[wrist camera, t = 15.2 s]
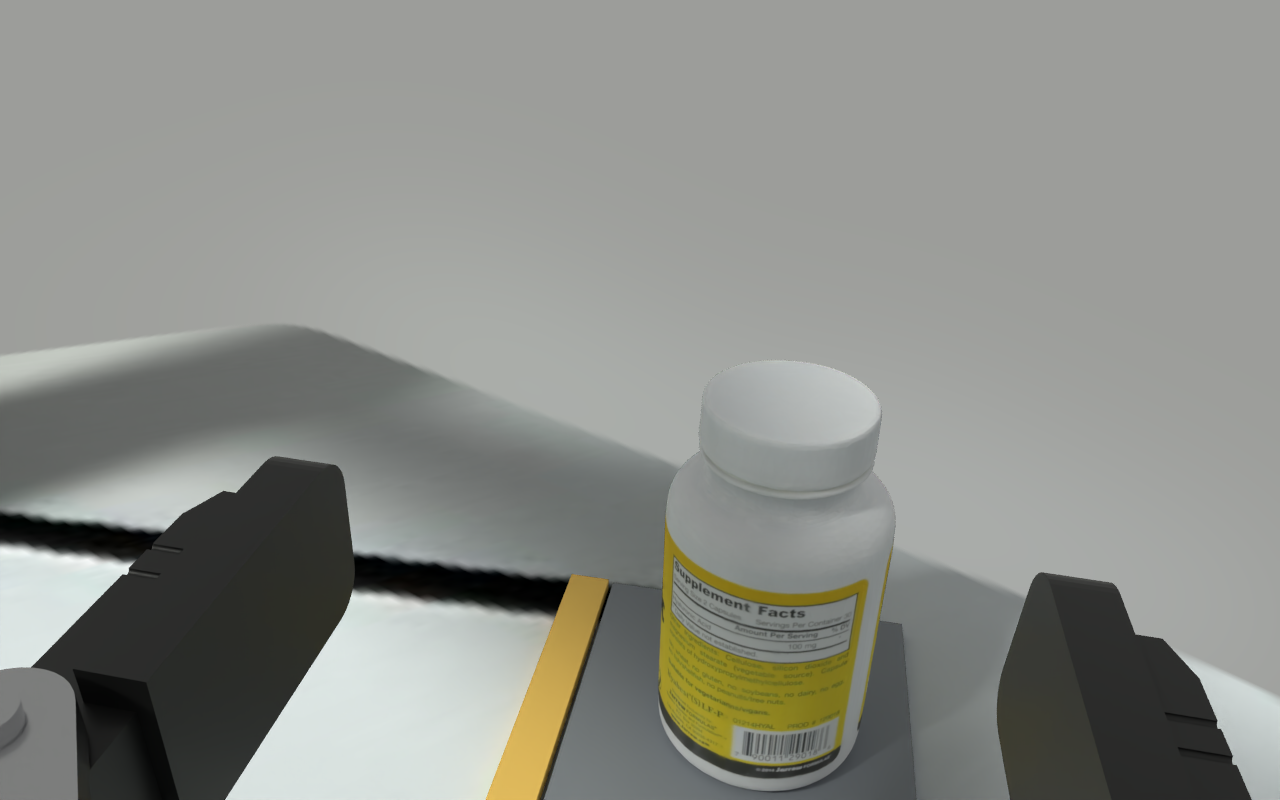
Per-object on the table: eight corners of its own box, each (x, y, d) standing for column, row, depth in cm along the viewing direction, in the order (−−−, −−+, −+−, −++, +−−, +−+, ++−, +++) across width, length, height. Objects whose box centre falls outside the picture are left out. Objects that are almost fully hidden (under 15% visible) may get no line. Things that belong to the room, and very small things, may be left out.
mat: (483, 818, 24) (482, 806, 23) (571, 583, 31) (571, 574, 31) (921, 898, 22) (924, 886, 22) (900, 631, 30) (902, 621, 30)
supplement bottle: (734, 620, 30) (766, 325, 25) (894, 714, 27) (963, 398, 22) (612, 718, 26) (623, 396, 21) (780, 840, 23) (835, 494, 18)
